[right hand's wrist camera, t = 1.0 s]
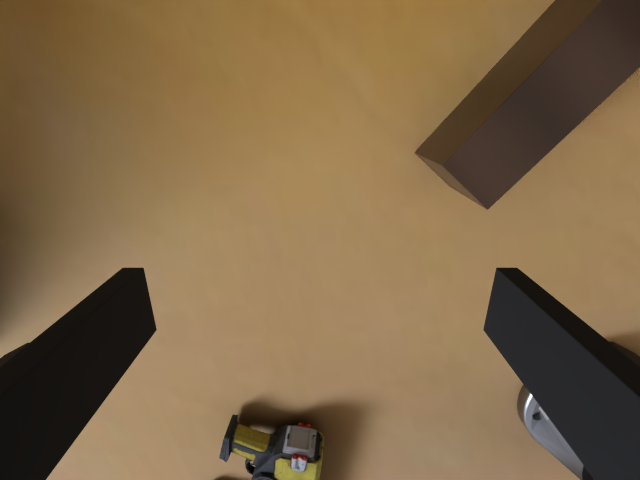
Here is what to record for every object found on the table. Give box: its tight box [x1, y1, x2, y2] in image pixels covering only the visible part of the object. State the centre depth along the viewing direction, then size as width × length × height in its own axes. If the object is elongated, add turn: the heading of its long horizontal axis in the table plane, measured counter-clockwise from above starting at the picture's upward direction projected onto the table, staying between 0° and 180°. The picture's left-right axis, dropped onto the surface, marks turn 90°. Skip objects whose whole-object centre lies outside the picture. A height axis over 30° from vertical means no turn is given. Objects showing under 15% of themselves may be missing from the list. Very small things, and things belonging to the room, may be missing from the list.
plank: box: [415, 0, 640, 209], centre depth 24 cm, size 30×5×8 cm, turn 140°
